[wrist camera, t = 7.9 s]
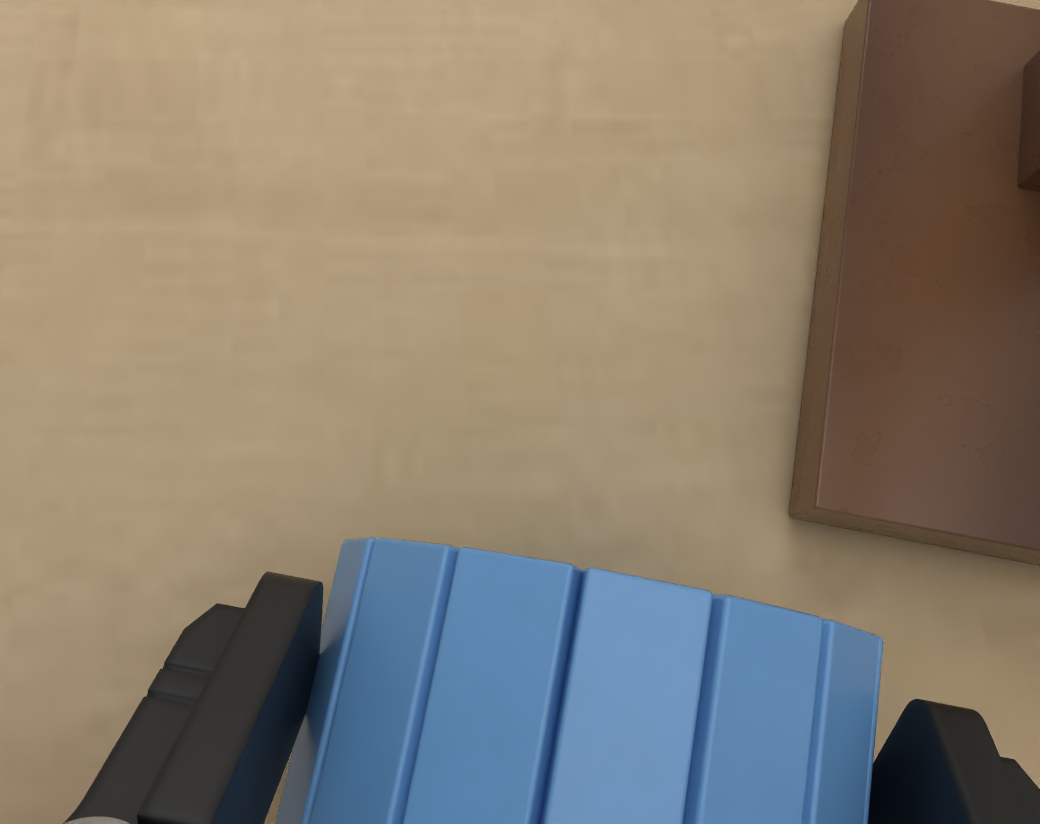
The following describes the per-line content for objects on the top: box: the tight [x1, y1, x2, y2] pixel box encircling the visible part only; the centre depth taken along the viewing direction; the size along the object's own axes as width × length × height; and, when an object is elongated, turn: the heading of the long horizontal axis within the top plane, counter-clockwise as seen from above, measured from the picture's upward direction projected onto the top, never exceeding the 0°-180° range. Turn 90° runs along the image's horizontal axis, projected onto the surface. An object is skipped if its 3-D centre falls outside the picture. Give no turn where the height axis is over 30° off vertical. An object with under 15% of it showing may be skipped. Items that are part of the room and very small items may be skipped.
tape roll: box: [275, 537, 883, 824], centre depth 13 cm, size 8×5×8 cm, turn 79°
